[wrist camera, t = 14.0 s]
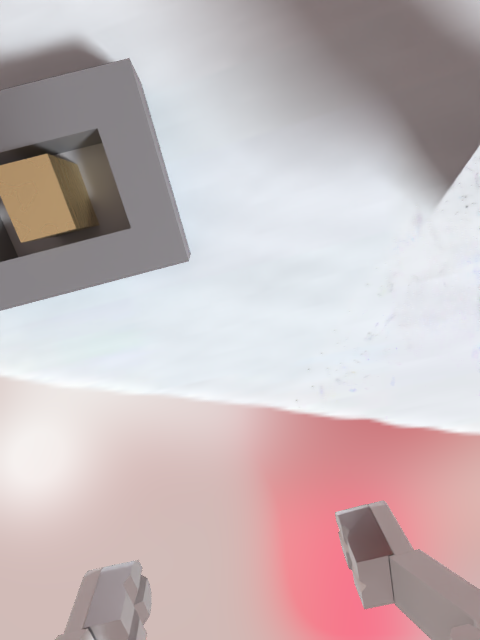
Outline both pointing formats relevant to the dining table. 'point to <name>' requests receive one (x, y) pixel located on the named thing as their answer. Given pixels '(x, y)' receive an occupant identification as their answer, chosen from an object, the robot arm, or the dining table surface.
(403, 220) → the dining table surface
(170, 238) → the well
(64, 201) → the tan block
